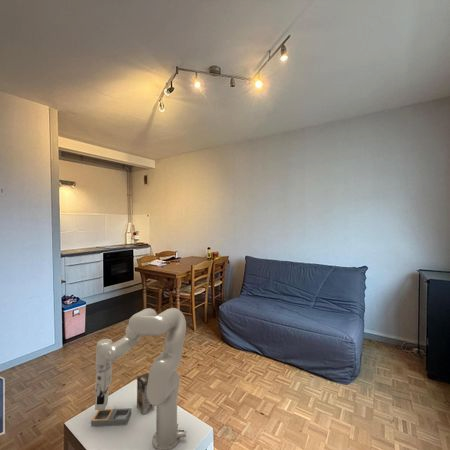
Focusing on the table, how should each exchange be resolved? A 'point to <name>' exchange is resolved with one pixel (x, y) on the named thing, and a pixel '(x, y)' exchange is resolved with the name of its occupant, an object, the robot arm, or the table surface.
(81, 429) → the table surface
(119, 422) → the frame with rectangular openings
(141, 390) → the coffee box
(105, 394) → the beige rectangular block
